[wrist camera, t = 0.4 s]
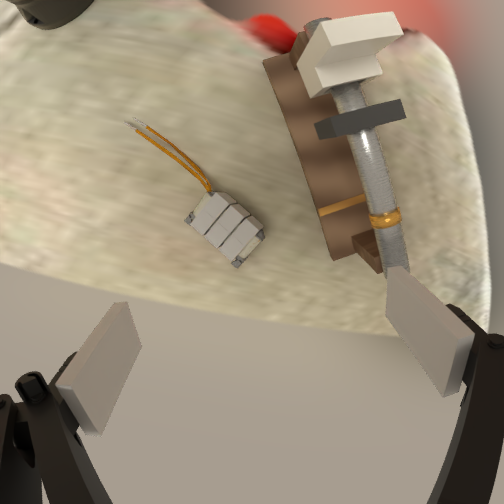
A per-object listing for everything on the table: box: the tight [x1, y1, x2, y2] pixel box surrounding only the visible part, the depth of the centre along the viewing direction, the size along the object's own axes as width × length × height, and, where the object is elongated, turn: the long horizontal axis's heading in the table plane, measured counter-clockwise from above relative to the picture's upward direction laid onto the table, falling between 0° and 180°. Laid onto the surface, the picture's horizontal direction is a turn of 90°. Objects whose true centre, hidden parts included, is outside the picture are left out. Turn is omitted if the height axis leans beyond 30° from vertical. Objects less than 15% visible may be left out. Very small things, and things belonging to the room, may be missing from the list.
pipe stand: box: [263, 31, 383, 274], centre depth 35 cm, size 28×10×10 cm, turn 20°
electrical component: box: [124, 118, 265, 268], centre depth 40 cm, size 24×6×5 cm, turn 49°
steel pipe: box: [304, 18, 410, 279], centre depth 28 cm, size 27×3×3 cm, turn 20°
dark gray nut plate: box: [314, 99, 406, 140], centre depth 28 cm, size 2×7×7 cm, turn 110°
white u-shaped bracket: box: [296, 12, 404, 99], centre depth 23 cm, size 4×6×12 cm, turn 110°
